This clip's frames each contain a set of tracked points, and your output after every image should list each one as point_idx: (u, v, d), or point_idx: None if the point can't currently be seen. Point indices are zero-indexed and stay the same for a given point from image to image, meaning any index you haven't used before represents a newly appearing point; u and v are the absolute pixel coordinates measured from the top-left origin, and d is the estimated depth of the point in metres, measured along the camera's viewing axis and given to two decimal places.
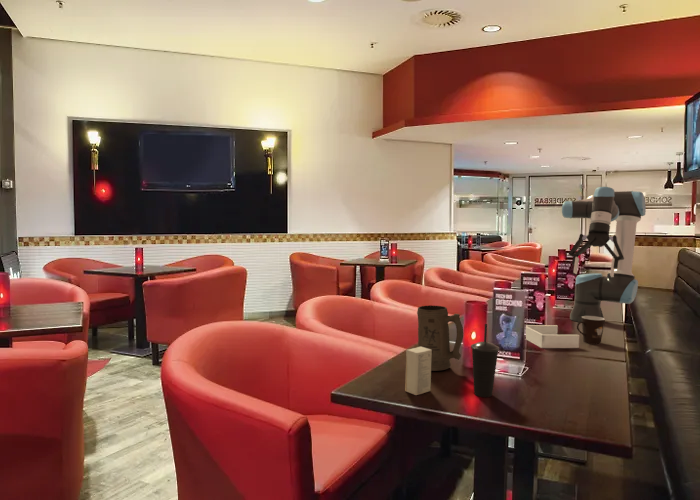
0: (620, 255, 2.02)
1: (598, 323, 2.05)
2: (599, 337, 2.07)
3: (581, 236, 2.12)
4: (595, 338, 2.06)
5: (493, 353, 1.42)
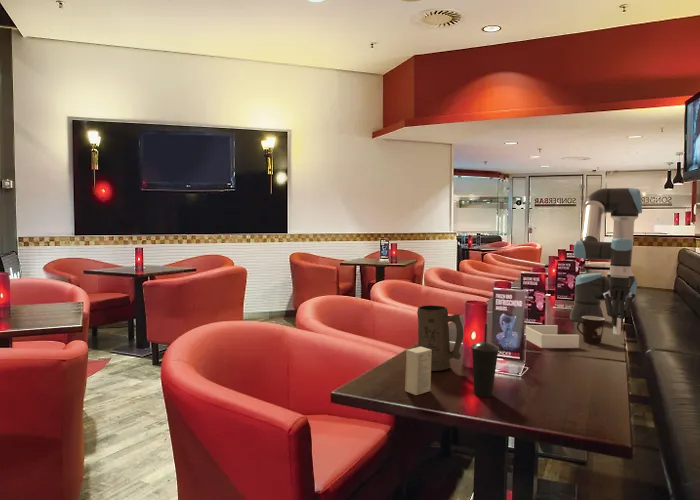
0: (626, 314, 2.09)
1: (598, 323, 2.05)
2: (599, 337, 2.07)
3: (608, 295, 2.08)
4: (595, 338, 2.06)
5: (493, 353, 1.42)
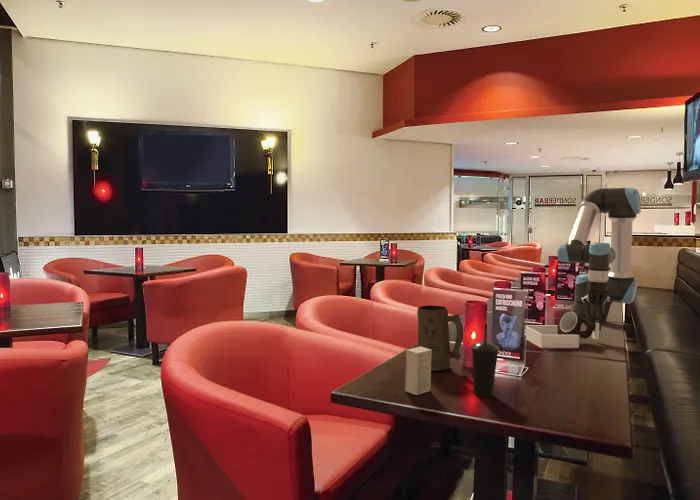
0: (605, 318, 2.09)
1: (576, 328, 2.02)
2: (588, 329, 2.05)
3: (586, 300, 2.07)
4: (586, 333, 2.05)
5: (493, 353, 1.42)
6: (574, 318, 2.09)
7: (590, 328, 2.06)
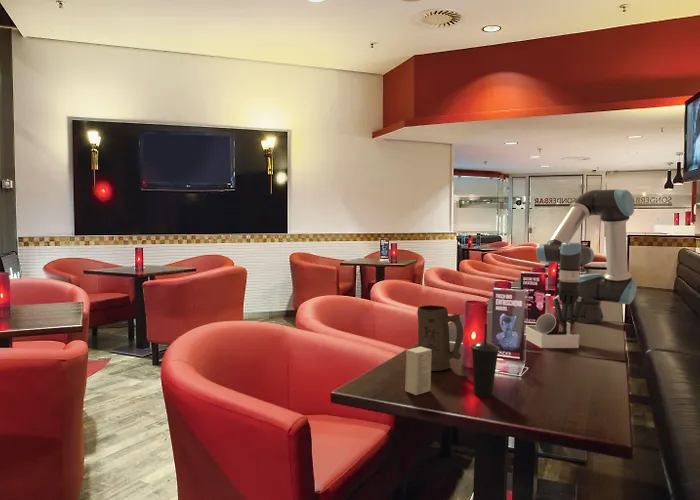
0: (576, 318, 2.08)
1: (556, 328, 1.99)
2: (563, 330, 2.03)
3: (557, 300, 2.06)
4: (562, 334, 2.03)
5: (493, 353, 1.42)
6: (547, 321, 2.07)
7: (565, 329, 2.04)
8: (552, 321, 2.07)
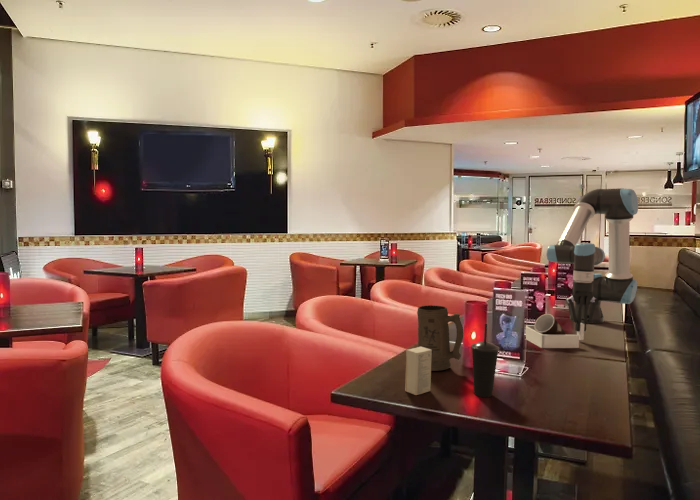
0: (590, 319, 2.08)
1: (554, 325, 2.01)
2: (562, 330, 2.05)
3: (571, 301, 2.07)
4: None
5: (493, 353, 1.42)
6: (545, 323, 2.09)
7: (563, 330, 2.06)
8: (550, 324, 2.09)
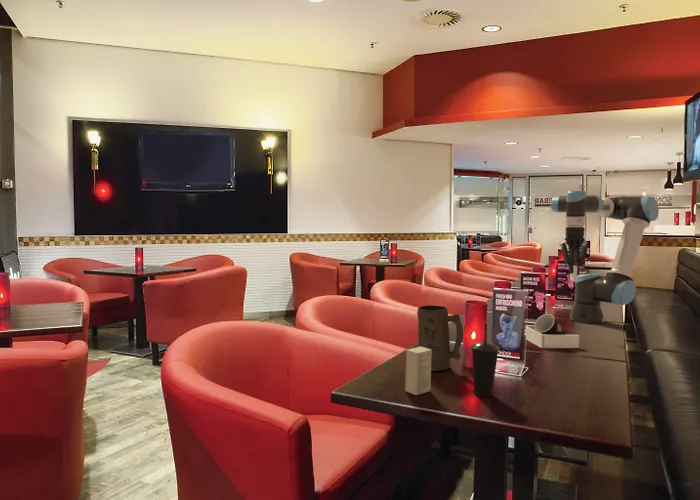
0: (582, 261, 2.24)
1: (554, 325, 2.01)
2: (562, 330, 2.05)
3: (564, 245, 2.22)
4: None
5: (493, 353, 1.42)
6: (546, 323, 2.09)
7: (563, 330, 2.06)
8: (550, 324, 2.09)
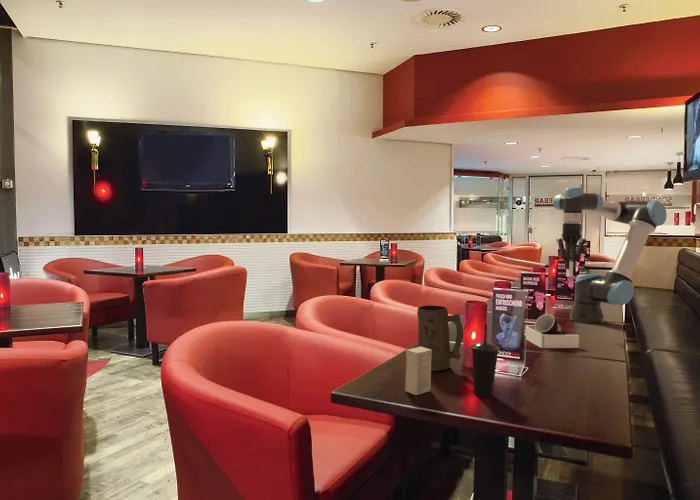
0: (578, 257, 2.28)
1: (554, 326, 2.01)
2: (562, 330, 2.05)
3: (561, 240, 2.27)
4: None
5: (493, 353, 1.42)
6: (546, 323, 2.09)
7: (563, 330, 2.06)
8: (550, 324, 2.09)
